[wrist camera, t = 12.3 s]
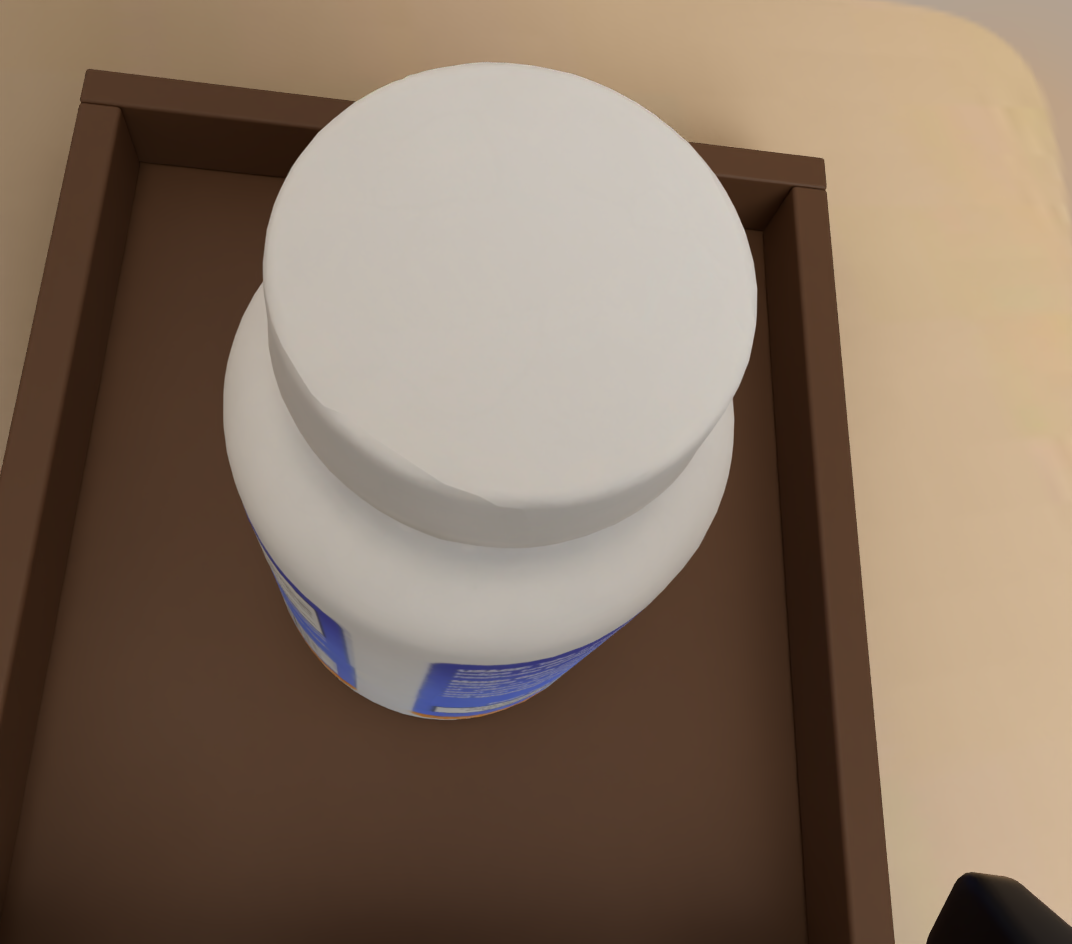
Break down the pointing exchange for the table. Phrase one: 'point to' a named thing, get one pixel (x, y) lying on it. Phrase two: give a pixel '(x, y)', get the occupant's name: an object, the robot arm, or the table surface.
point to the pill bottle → (487, 380)
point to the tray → (346, 716)
